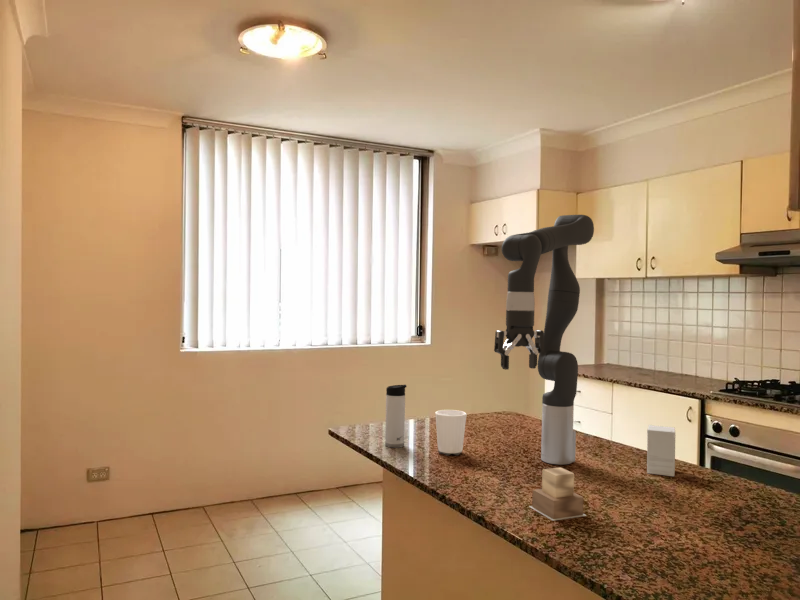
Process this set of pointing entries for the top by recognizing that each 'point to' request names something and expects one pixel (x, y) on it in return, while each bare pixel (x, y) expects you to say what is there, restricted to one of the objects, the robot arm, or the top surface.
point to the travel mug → (395, 416)
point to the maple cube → (558, 482)
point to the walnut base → (557, 504)
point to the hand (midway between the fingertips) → (518, 368)
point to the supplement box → (661, 450)
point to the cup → (450, 431)
